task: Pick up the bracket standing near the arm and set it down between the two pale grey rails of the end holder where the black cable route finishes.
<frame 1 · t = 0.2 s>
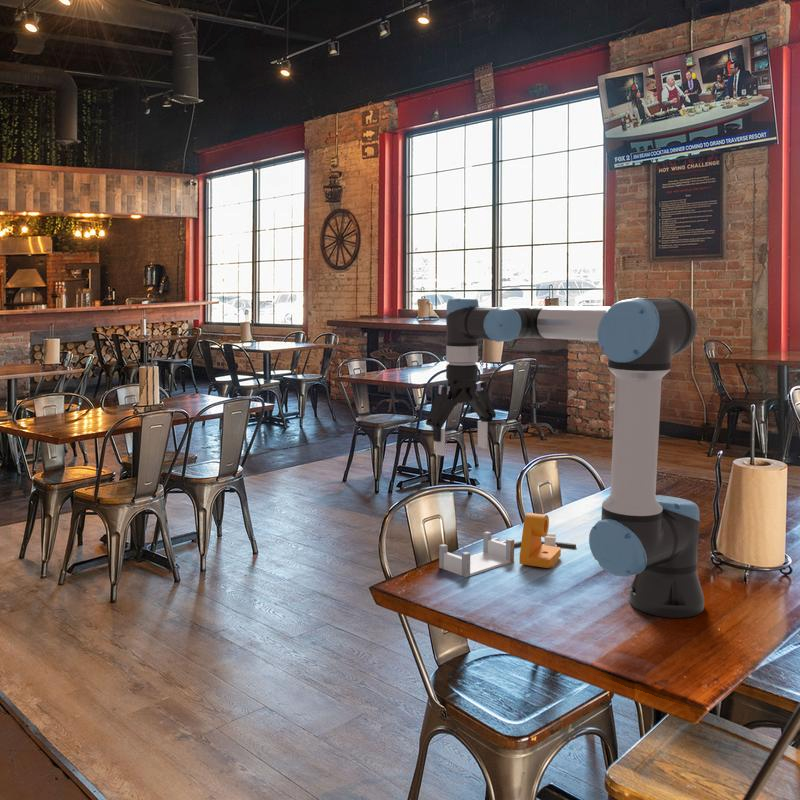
hand: (461, 451, 202), 27 cm above the table, fingers open, 13 cm apart
holder: (476, 564, 203), on the table
bracket: (540, 563, 205), on the table
cable route: (533, 546, 217), on the table
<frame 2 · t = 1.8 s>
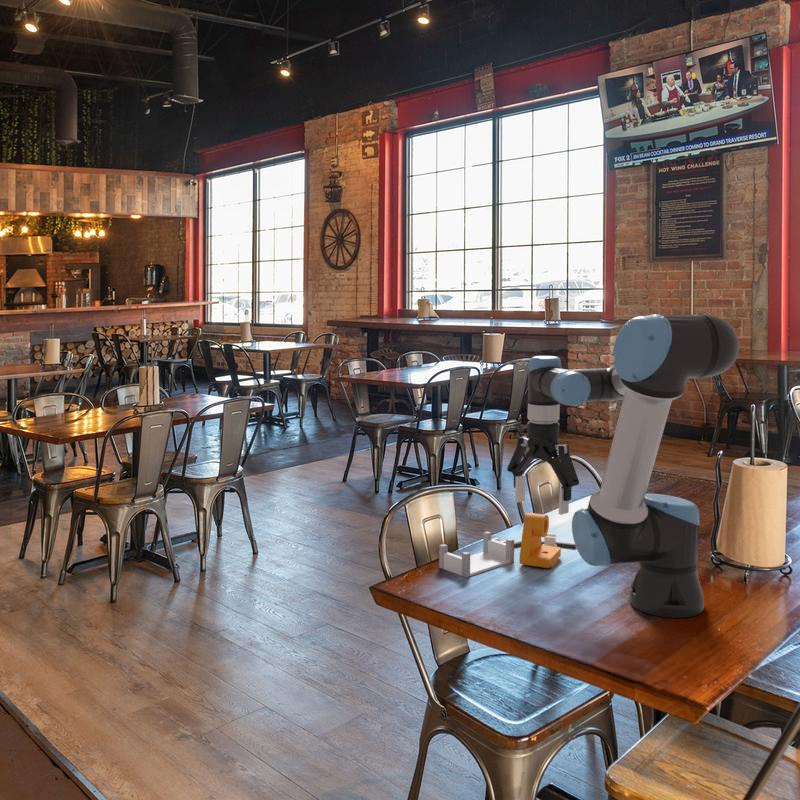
hand: (541, 507, 203), 14 cm above the table, fingers open, 13 cm apart
nothing on the table moved.
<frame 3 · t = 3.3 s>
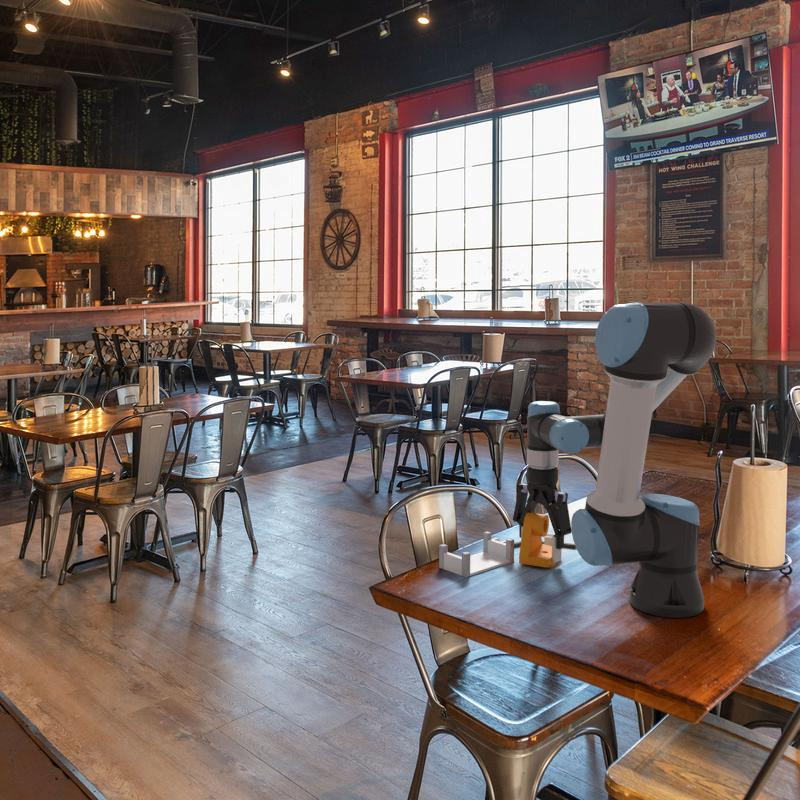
hand: (540, 556, 205), 1 cm above the table, fingers closed on bracket, 9 cm apart
bracket: (540, 562, 205), on the table, touching gripper
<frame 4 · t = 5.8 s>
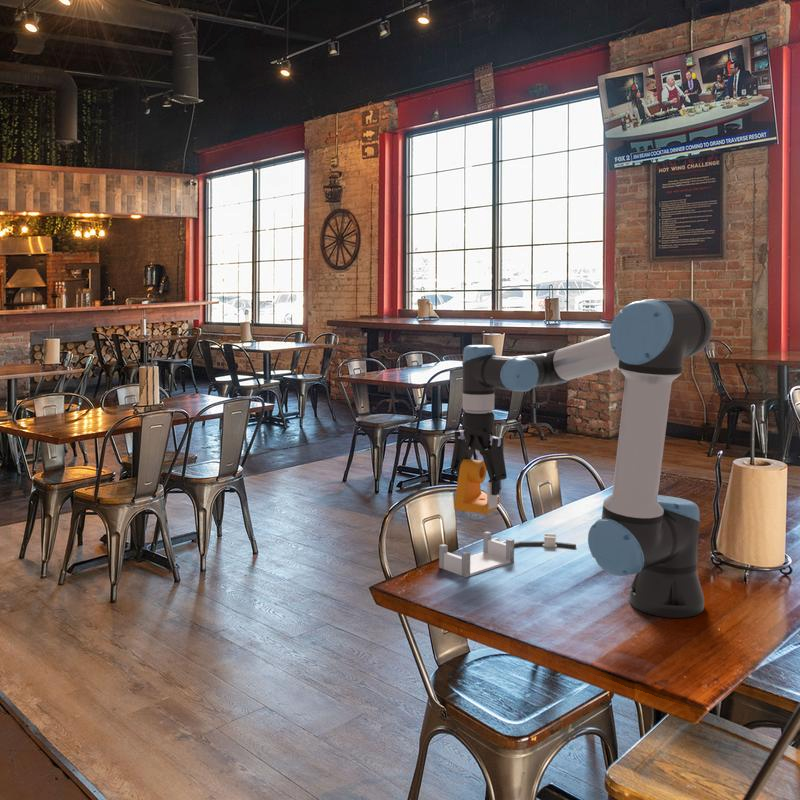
hand: (477, 503, 201), 15 cm above the table, fingers closed on bracket, 9 cm apart
bracket: (477, 510, 201), point 14 cm above the table, touching gripper
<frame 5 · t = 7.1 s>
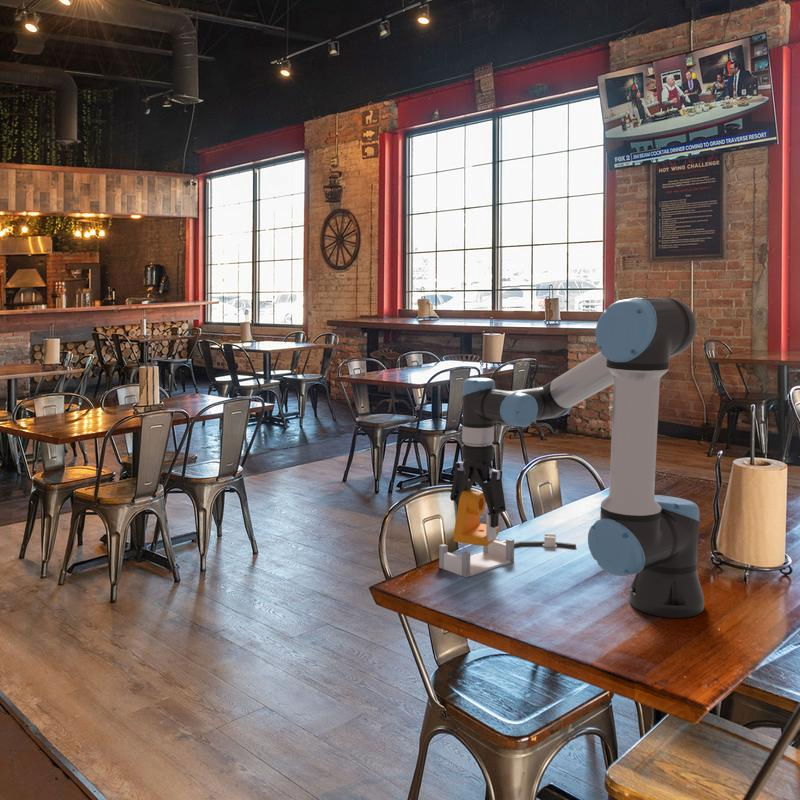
hand: (476, 535, 202), 7 cm above the table, fingers closed on bracket, 9 cm apart
bracket: (476, 541, 203), point 6 cm above the table, touching gripper
when the fingers open (3 cm above the table, at t = 8.3 s): bracket drops 1 cm, resting on holder.
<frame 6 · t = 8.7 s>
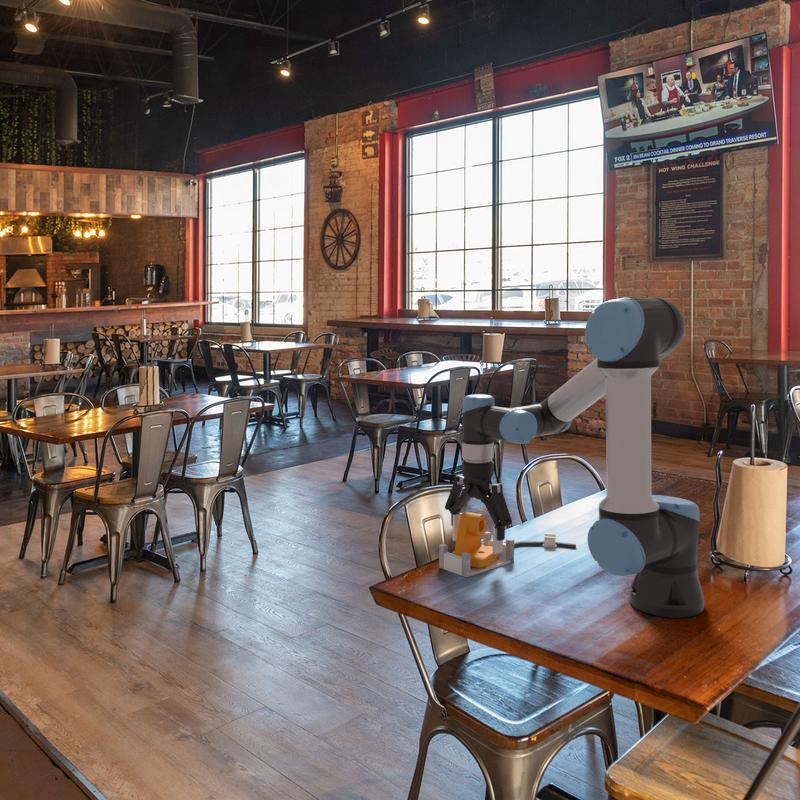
hand: (477, 546, 203), 5 cm above the table, fingers open, 13 cm apart
bracket: (477, 563, 203), resting on holder
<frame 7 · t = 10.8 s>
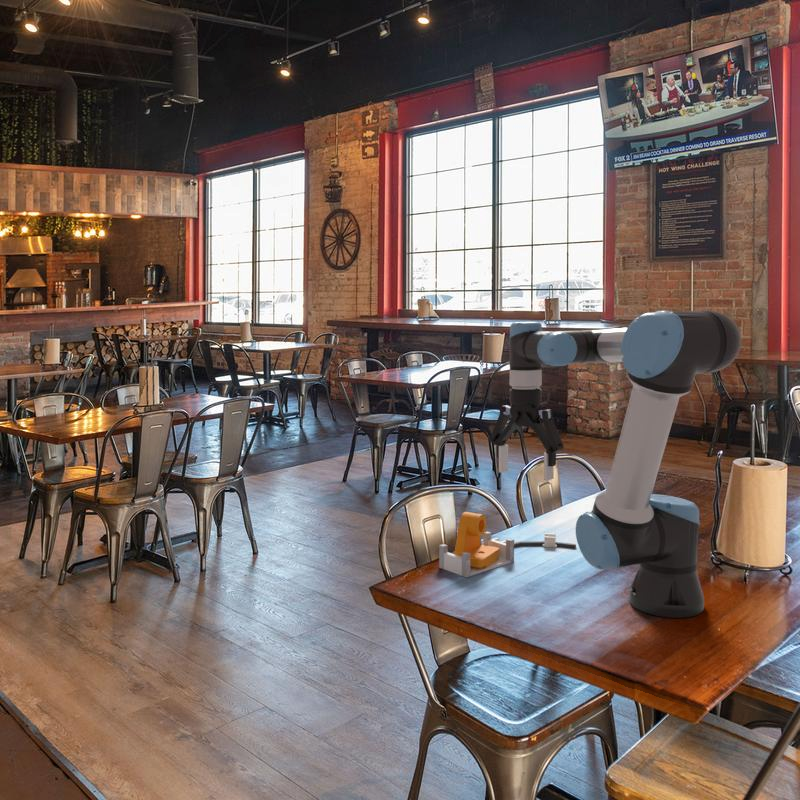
hand: (525, 475, 201), 22 cm above the table, fingers open, 13 cm apart
nothing on the table moved.
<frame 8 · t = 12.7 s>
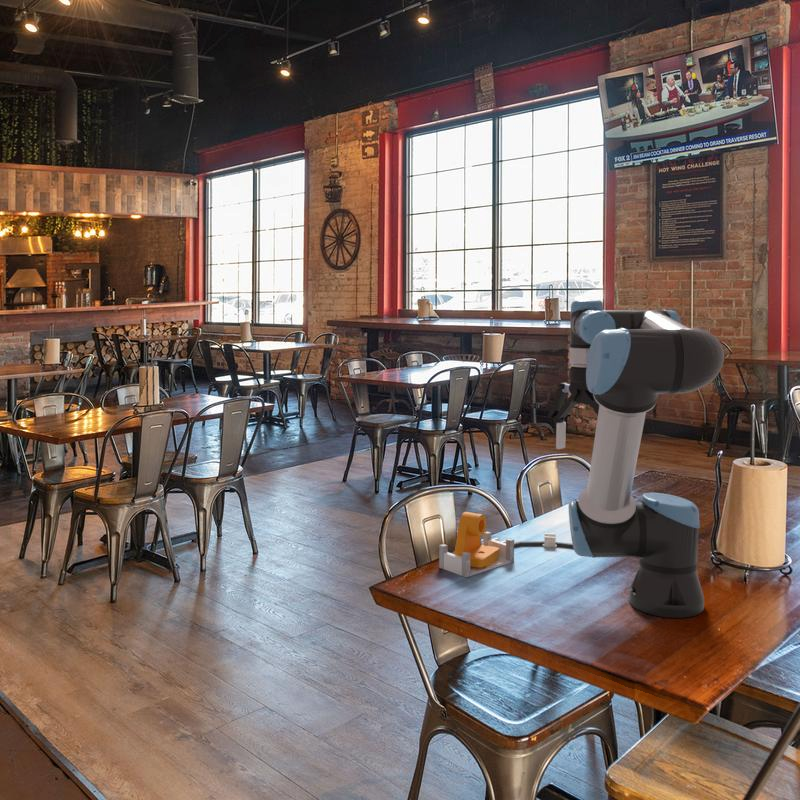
hand: (583, 452, 203), 27 cm above the table, fingers open, 13 cm apart
nothing on the table moved.
at the end: bracket inside the target area on the holder (0.1 cm from its centre), point 0.4 cm above the holder's base; the gripper is holding nothing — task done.
